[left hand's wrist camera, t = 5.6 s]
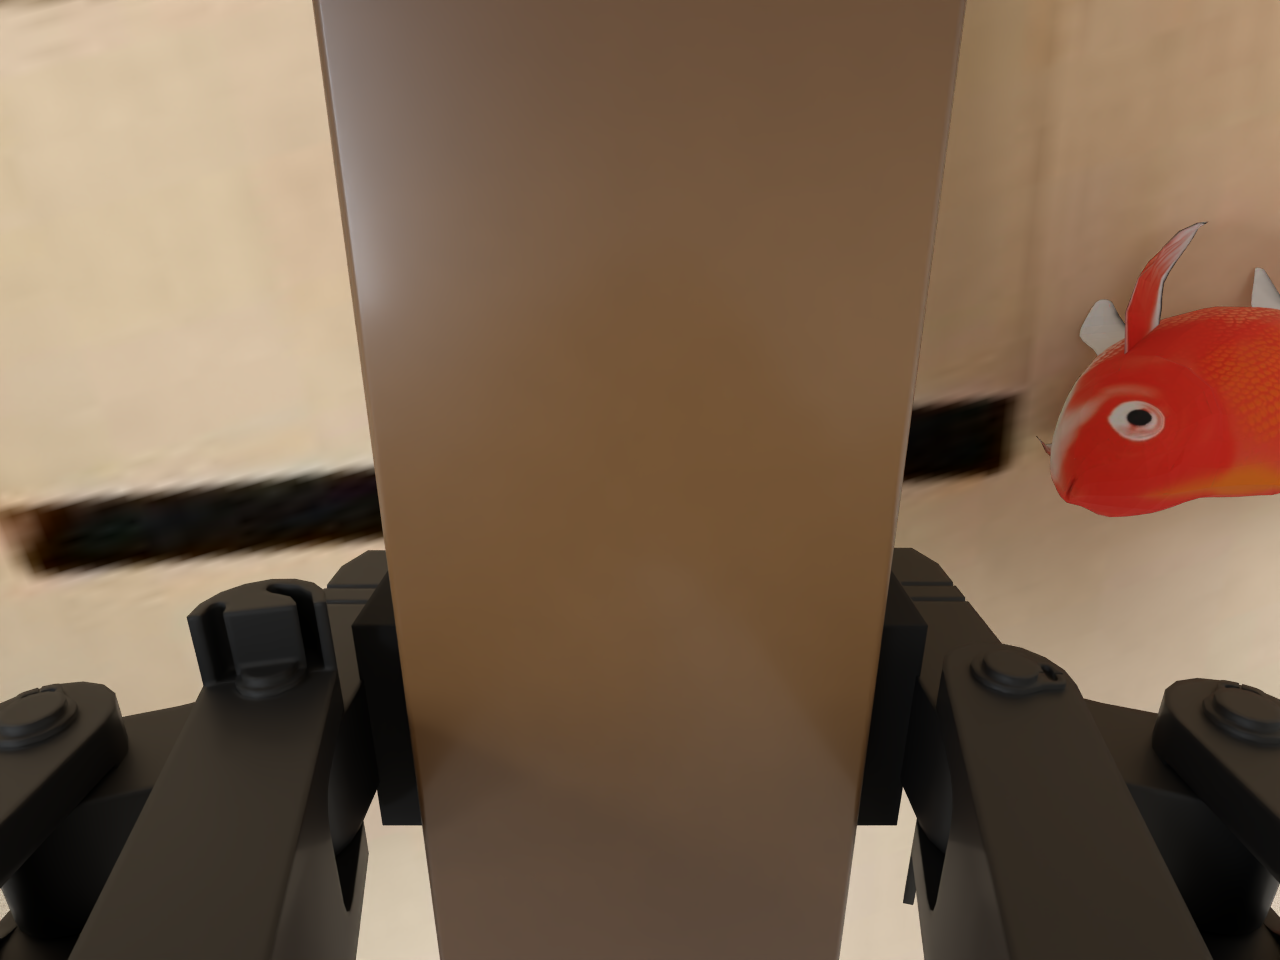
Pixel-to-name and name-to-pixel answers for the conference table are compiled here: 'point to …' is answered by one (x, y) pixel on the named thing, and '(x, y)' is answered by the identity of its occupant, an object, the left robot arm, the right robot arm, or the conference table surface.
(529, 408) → the bar
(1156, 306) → the fish
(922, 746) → the left robot arm
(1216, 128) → the conference table surface
